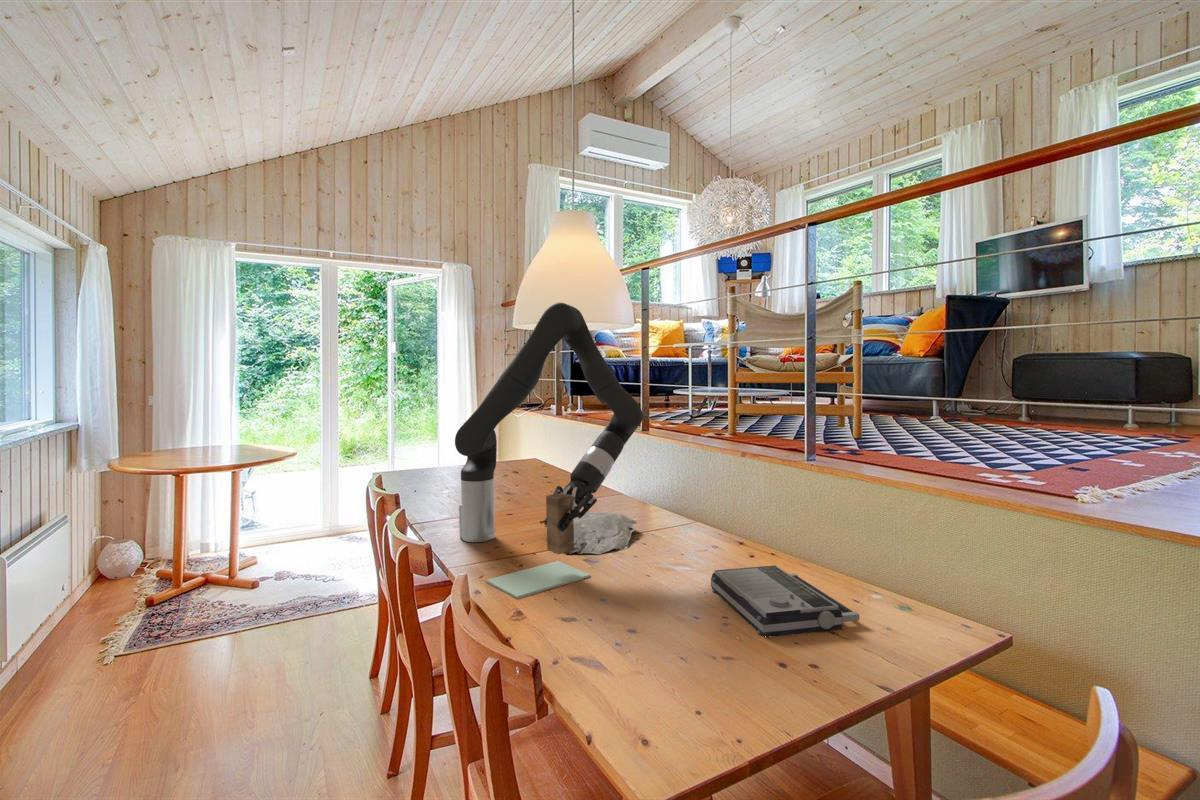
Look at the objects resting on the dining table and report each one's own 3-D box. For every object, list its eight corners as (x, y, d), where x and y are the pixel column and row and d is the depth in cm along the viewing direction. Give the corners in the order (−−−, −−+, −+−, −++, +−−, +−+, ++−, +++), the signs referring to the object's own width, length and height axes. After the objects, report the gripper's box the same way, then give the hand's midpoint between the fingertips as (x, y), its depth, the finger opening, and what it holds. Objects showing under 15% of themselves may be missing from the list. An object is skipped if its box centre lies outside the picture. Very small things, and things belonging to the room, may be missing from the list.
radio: (709, 567, 127) (793, 560, 131) (709, 591, 128) (793, 583, 132) (763, 612, 104) (863, 602, 108) (763, 641, 104) (863, 630, 108)
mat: (557, 563, 146) (557, 561, 146) (590, 576, 136) (590, 574, 136) (486, 582, 133) (486, 579, 133) (516, 598, 123) (516, 596, 123)
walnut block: (562, 546, 141) (561, 492, 141) (574, 550, 138) (572, 495, 137) (547, 550, 139) (546, 495, 138) (558, 554, 135) (557, 498, 134)
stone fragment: (662, 543, 165) (663, 520, 164) (575, 562, 149) (575, 537, 148) (610, 522, 186) (611, 501, 185) (529, 536, 170) (529, 514, 169)
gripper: (566, 457, 147) (526, 512, 140) (602, 463, 137) (562, 523, 129) (583, 475, 151) (545, 530, 144) (620, 482, 140) (581, 542, 133)
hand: (553, 526), depth 137 cm, fingers closed on walnut block, 4 cm apart
